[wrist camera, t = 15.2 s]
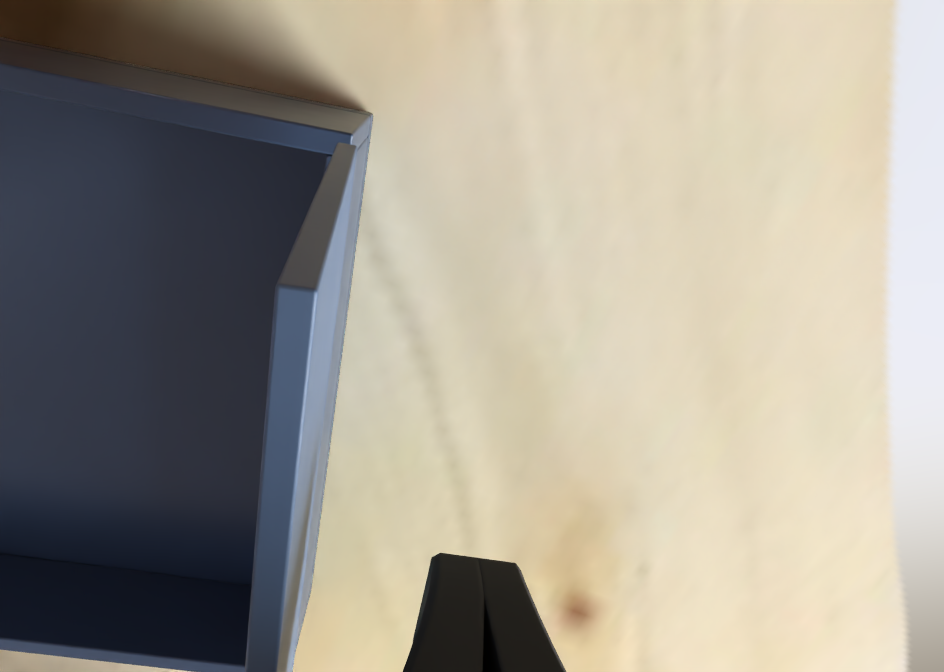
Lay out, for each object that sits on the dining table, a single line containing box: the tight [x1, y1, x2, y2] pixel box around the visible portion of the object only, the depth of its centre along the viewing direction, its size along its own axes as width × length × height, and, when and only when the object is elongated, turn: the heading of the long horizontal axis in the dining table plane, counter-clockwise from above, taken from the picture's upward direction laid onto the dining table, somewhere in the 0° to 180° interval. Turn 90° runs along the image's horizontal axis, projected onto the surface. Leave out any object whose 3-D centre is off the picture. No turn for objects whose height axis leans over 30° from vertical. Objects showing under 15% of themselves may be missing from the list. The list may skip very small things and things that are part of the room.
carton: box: [0, 37, 373, 672], centre depth 14 cm, size 12×13×3 cm
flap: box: [245, 143, 357, 672], centre depth 10 cm, size 6×13×1 cm
